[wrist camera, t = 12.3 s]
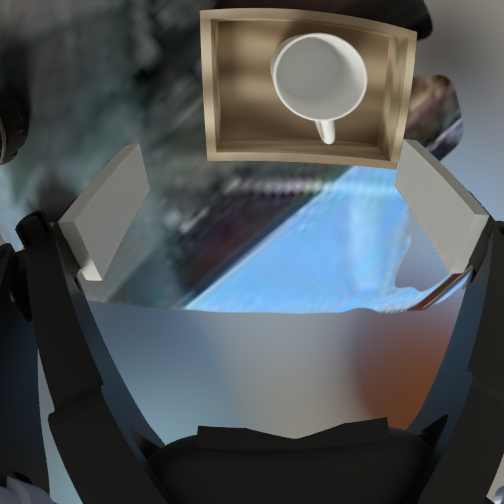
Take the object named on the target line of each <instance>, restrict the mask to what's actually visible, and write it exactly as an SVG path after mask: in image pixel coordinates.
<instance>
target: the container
mask: <svg viewBox="0 0 504 504" xmlns="http://www.w3.org/2000/svg"><path fill="white" fill-rule="evenodd" d="M28 127H29V120H28V115H27V110H26V107H25V106H24V103H23V102H22V100H21V99H20V98H19V96H18V95H17V94H15V93H13V92H8V91H4V92H2V91H0V166H1V165H3V164H5V163H8V162H10V161H11V160H13V158H14V157H15V156H16V155H17V152H18V150H19V149H20V148H21V147H22V146H23V144H24V143H25V140H26V138H27V134H28Z"/></svg>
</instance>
